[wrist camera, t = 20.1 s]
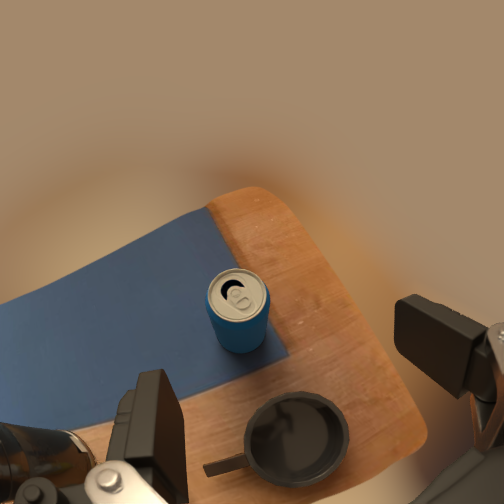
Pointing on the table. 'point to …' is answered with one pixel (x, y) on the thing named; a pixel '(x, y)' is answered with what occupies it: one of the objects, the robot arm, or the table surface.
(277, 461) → the pan
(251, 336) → the beverage can
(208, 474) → the pan handle
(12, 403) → the table surface
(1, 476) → the robot arm
